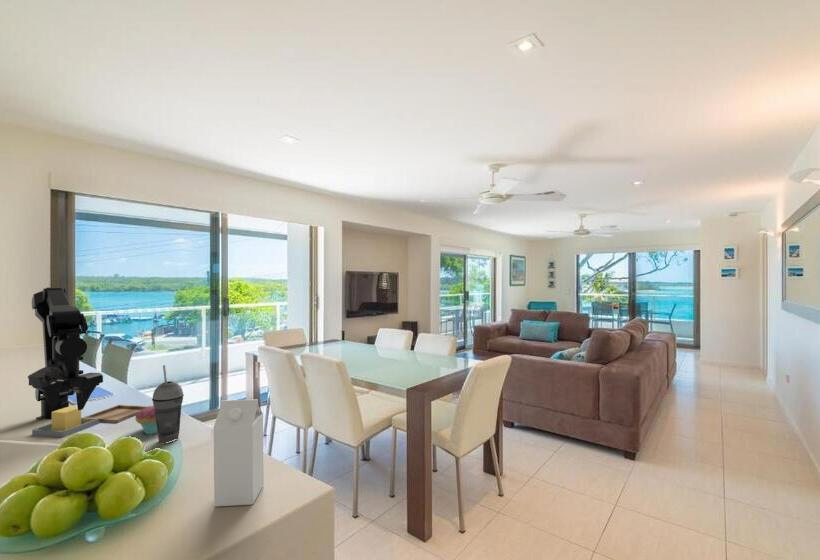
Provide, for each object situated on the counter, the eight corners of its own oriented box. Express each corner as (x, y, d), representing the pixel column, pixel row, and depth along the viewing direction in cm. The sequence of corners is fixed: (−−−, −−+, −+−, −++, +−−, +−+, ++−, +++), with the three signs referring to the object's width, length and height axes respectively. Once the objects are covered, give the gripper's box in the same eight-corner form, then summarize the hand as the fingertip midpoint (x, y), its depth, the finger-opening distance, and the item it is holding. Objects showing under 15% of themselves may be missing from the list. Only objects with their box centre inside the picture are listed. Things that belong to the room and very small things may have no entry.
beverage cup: (169, 447, 101) (168, 369, 101) (145, 444, 102) (144, 368, 102) (190, 435, 108) (189, 363, 108) (167, 433, 109) (167, 362, 109)
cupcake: (178, 427, 114) (178, 386, 114) (150, 438, 106) (150, 394, 106) (156, 424, 117) (156, 383, 117) (128, 435, 109) (127, 391, 109)
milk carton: (228, 487, 81) (227, 395, 81) (263, 485, 82) (262, 394, 81) (214, 507, 74) (213, 406, 74) (253, 505, 74) (252, 405, 74)
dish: (32, 437, 108) (32, 429, 108) (70, 423, 118) (69, 416, 118) (63, 439, 106) (63, 431, 106) (99, 425, 116) (99, 418, 116)
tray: (82, 422, 119) (82, 417, 119) (118, 409, 131) (118, 404, 131) (117, 424, 117) (117, 420, 117) (151, 410, 129) (151, 406, 129)
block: (51, 431, 110) (51, 411, 110) (68, 425, 115) (68, 406, 115) (65, 432, 110) (65, 412, 110) (81, 426, 114) (81, 407, 114)
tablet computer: (58, 396, 148) (58, 393, 148) (100, 388, 158) (100, 385, 158) (73, 406, 136) (73, 402, 136) (116, 397, 146) (116, 393, 146)
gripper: (5, 359, 106) (6, 417, 106) (64, 361, 102) (65, 421, 103) (50, 351, 117) (50, 404, 117) (104, 353, 113) (105, 407, 114)
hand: (66, 409), depth 112 cm, fingers open, 9 cm apart
